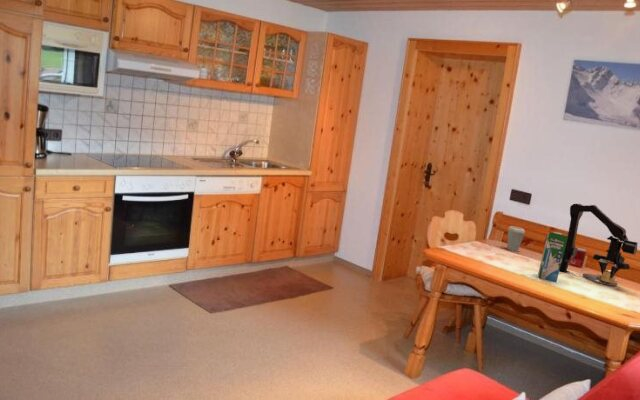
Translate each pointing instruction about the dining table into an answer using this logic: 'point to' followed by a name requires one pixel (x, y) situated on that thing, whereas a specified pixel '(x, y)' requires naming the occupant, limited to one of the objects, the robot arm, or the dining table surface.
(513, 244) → the disposable coffee cup
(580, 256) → the canned food
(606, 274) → the tan rounded lump
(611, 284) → the carrier
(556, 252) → the milk carton
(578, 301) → the dining table surface
